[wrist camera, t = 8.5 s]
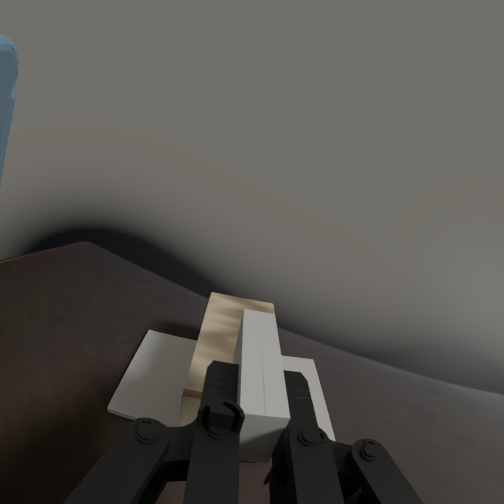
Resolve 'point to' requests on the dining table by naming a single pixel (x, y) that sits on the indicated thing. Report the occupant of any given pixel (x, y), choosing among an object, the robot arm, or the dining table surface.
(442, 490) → the dining table surface
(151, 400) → the mat
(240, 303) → the beech block
